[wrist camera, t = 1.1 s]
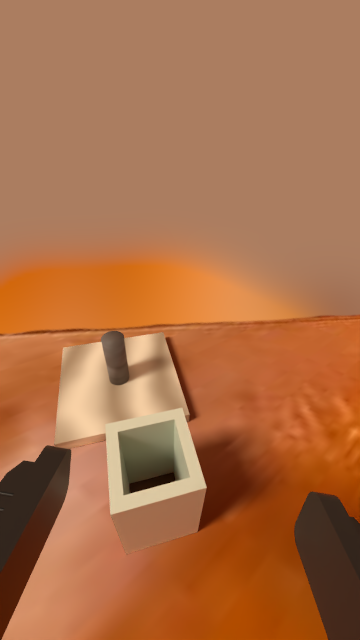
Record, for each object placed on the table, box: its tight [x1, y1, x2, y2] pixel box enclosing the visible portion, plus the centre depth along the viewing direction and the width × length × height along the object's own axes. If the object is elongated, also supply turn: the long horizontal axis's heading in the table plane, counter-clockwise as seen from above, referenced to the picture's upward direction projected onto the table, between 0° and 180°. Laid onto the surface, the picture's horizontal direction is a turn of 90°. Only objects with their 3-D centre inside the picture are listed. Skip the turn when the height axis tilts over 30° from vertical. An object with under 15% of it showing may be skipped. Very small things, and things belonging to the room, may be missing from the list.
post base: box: [54, 331, 190, 449], centre depth 35 cm, size 15×15×8 cm
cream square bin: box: [105, 408, 207, 554], centre depth 24 cm, size 6×6×10 cm
